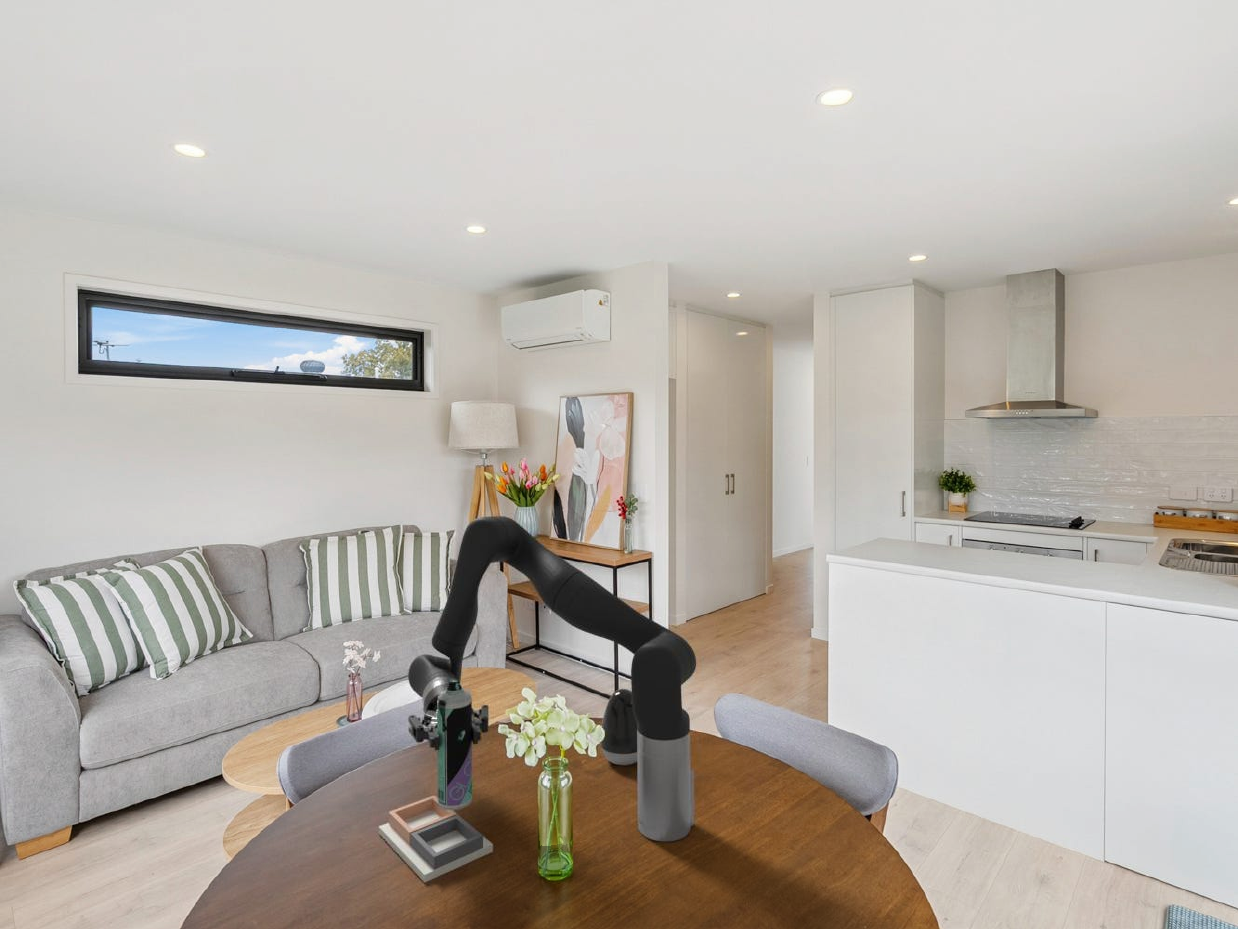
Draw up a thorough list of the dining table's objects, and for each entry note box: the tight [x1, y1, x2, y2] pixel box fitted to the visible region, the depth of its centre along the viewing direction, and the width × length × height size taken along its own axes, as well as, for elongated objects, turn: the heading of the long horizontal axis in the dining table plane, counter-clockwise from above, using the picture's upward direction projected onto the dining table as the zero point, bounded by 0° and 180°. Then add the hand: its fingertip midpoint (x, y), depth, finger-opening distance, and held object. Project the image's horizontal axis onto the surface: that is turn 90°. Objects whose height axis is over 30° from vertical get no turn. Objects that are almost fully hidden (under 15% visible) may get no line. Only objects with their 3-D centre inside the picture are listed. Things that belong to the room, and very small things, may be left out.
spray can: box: [437, 679, 473, 811], centre depth 109 cm, size 6×6×20 cm
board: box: [378, 794, 494, 883], centre depth 113 cm, size 12×18×3 cm, turn 41°
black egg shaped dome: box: [599, 688, 637, 766], centre depth 143 cm, size 10×10×15 cm
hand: (456, 741), depth 107 cm, fingers closed on spray can, 5 cm apart
